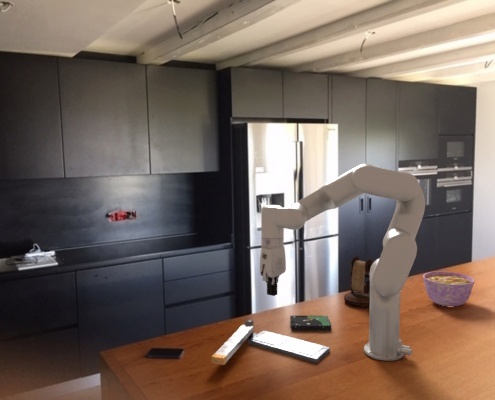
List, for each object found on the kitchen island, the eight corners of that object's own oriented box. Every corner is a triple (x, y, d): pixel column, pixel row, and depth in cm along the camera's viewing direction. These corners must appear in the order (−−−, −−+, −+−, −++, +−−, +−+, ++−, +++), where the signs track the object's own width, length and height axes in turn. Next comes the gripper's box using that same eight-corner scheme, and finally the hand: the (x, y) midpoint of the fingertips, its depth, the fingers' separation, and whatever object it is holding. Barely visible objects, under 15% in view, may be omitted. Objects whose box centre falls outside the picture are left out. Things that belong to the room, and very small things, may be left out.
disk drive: (291, 332, 173) (331, 332, 172) (291, 325, 173) (331, 325, 172) (290, 322, 183) (328, 321, 183) (289, 315, 183) (328, 314, 182)
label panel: (329, 351, 156) (329, 346, 155) (316, 363, 147) (316, 358, 147) (251, 330, 174) (251, 326, 173) (235, 340, 165) (235, 335, 165)
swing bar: (224, 370, 141) (223, 355, 141) (211, 368, 143) (211, 353, 142) (256, 333, 169) (256, 320, 168) (245, 331, 170) (245, 318, 169)
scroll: (337, 302, 203) (337, 257, 200) (356, 295, 213) (357, 251, 210) (366, 311, 192) (367, 263, 189) (385, 303, 202) (387, 257, 199)
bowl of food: (476, 301, 202) (477, 275, 201) (469, 316, 185) (471, 287, 184) (427, 293, 213) (428, 269, 211) (417, 307, 196) (418, 280, 195)
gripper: (270, 247, 150) (269, 303, 152) (293, 239, 162) (292, 290, 164) (250, 244, 154) (250, 298, 156) (274, 237, 166) (274, 287, 168)
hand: (272, 294), depth 160 cm, fingers closed
